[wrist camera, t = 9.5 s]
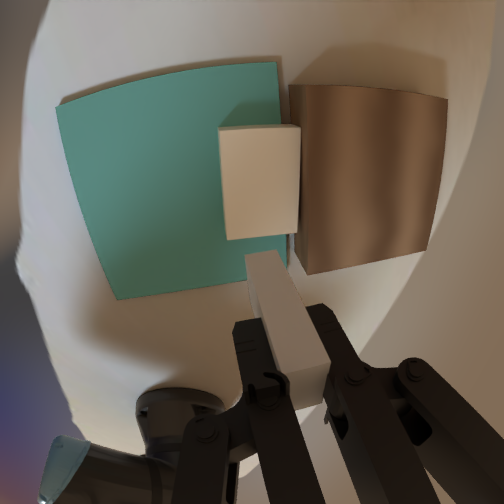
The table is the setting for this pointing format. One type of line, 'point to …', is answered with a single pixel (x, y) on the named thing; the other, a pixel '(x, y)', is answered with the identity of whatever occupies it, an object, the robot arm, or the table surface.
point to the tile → (260, 179)
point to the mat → (165, 175)
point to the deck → (365, 173)
